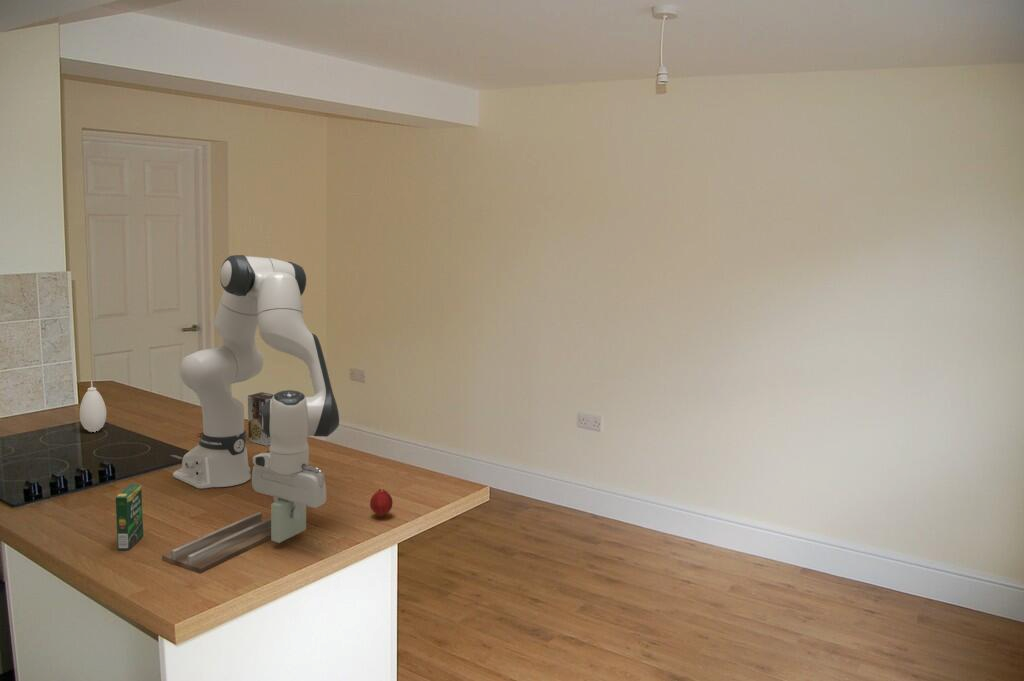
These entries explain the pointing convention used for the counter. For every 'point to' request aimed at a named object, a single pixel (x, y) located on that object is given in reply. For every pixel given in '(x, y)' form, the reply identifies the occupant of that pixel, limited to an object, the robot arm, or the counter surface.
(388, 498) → the onion
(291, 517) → the robot arm
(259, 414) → the coffee box
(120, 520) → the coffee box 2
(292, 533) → the door panel
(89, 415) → the sauce bottle
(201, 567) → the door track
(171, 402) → the counter surface
